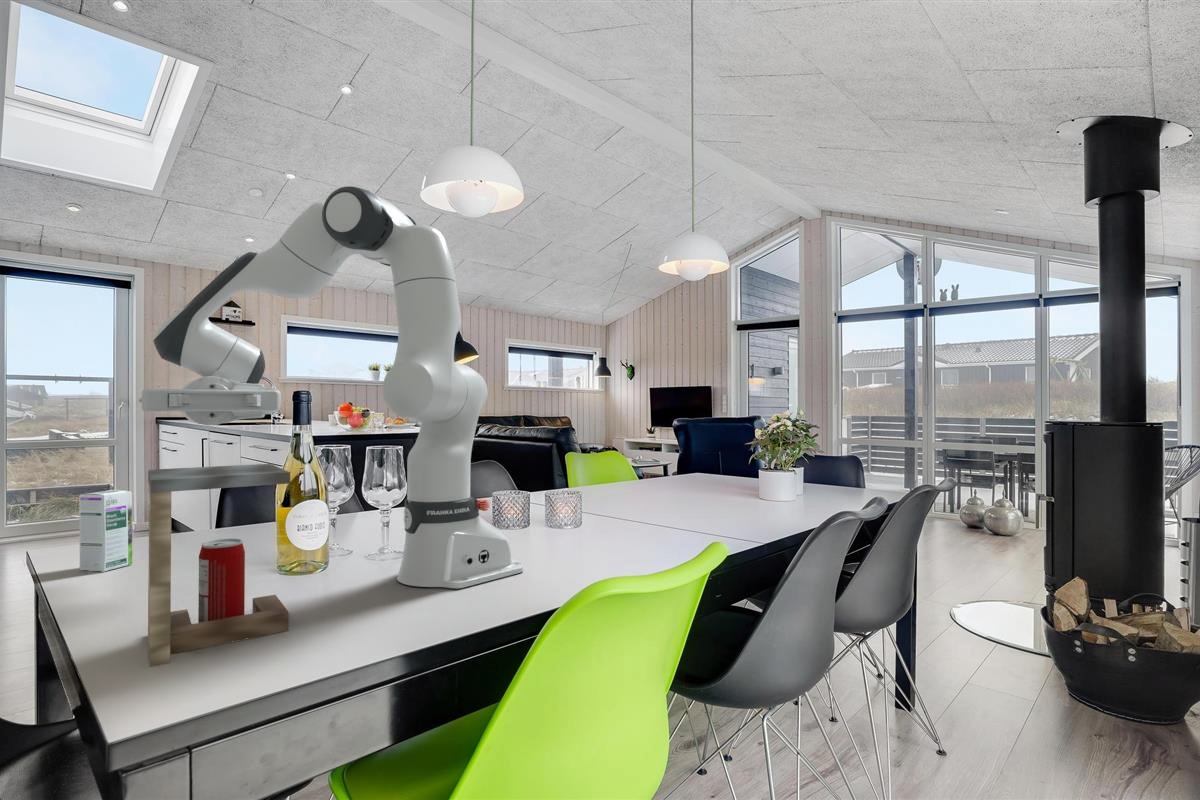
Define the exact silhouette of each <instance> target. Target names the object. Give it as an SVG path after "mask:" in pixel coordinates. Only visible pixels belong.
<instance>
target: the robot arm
mask: <svg viewBox="0 0 1200 800" xmlns="http://www.w3.org/2000/svg"><path fill="white" fill-rule="evenodd" d="M352 255H353V256H354V255H360V256H361V257H364V258H366V259H368V260H369V261H370V260H371V261H373V262H376V263H379V264H382V265H384V266H388V267H390V269H391V274H392V282H393V291H394V298H395V300H394V301H395V308H396V317H397V326H398V329H397V331H398V332H397V333H398V334H397V335H398V337H397V345H396V347H397V348H396V353H395V357H394V361H393V365H392V366H391V368H389V370H388V371H387V373H386V374H385V376H384V379H383V383H382V395H383V396H382V397H383V400H384V402H385V405H386V406H387V407H388V409H389V410H391V412H392V413H394V414H395V415H396V416H399V417H401V418H404V419H407V420H410V421H412V422H417V423H420V428H419V432H418V434H417V435H418V436H417V438H416V441H415V443H414V444H413V447H412V448H411V449H410V451H409V452H408V456H407V460H406V461H407V462H406V463H407V464H406V465H407V466H406V467H407V468H406V470H407V471H406V472H407V475H406V476H407V478H406V480H407V481H406V483H407V485H406V486H407V487H406V494H407V495H406V499H404V508H403V509H404V510H403V526H404V532H405V539H404V547H403V553H402V559H401V562H400V567H399V571H398V574H397V576H396V577H397V578H396V580H397V581H398V582H399V583H401V584H403V585H405V586H406V585H407V586H410V587H411V586H412V587H421V588H422V587H423V588H445V589H446V588H447V589H463V588H466V587H471V586H475V585H478V584H482V583H486V582H490V581H494V580H496V579H501V578H505V577H508V576H509V577H510V576H513V575H516V574H519V573H523V572H524V565H523V563H522V562H521V561H519V560H518V559H516V558H514V557H513V556H512V551H511V547H510V542H509V539H508V538H507V536H506V535H505V534H504V533H503V532H501V531H500V530H498V529H497V528H496V527H494V526H493V524H491V523H489V522H488V521H486V520H485V519H484V518H482V517H481V516H480V511H483V512H487V511H488V510H489V509H490V505H491V504H490V502H489V501H488V500H487V499H485V498H484V499H483V498H480V499H477V498H475V497H473V496H471V465H472V464H471V463H472V462H471V461H472V460H471V459H472V451H473V445H474V439H475V434H476V430H477V426H478V425H477V424H478V421H479V416H480V413H481V411H482V410H483V408H484V406H485V405H486V402H487V399H488V395H489V393H488V385H487V383H486V381H485V378H484V377H483V376H482V375H481V374H480V373H479V372H478V371H476V370H474V369H473V368H471V367H470V366H468V365H467V364H463V363H459V362H458V363H457V362H455V344H456V338H457V335H458V333H459V331H460V330H461V328H462V315H461V308H460V302H459V294H458V287H457V280H456V273H455V269H454V263H453V260H452V255H451V253H450V250H449V247H448V244H447V241H446V238H445V236H444V235H443V234H442V233H441V231H439V230H438V229H437V228H435V227H433V226H430V225H426V224H417V223H416V221H415V220H414V219H413V218H412V217H410V216H409V215H407V214H406V213H404V212H403V211H401V209H399V208H398V207H396V206H395V205H394V204H393V203H391V202H389V201H388V200H386V199H384V198H383V197H381V196H378V195H375V194H374V193H373V192H371V191H370V190H368V189H366V188H365V189H364V188H362V187H356V186H349V185H348V186H342V187H339V188H337V189H335V190H334V191H332V192H331V193H330V194H329V196H327V198H326V200H325V201H317V202H313V203H312V204H311V205H309V207H307V208H306V209H305V210H304V211H302V213H301V214H300V215H298V217H296V219H295V220H294V221H293V222H292V223H291V224H290V225H289V227H288V228H287V229H286V230H285V231H284V233H283V234H282V236H281V237H280V238H279V240H278V241H277V242H276V243H275V244H274V245H273V246H271V247H270V248H268V249H266V250H264V251H261V252H258V253H257V252H252V251H248V252H246V253H245V254H242V255H241V256H240V257H237V259H235V260H234V261H233V262H232V263H230V265H228V266H227V267H226V268H224V269H223V270H222V271H221V272H220V273H219V274H218V275H217V276H216V277H215V278H214V279H212V281H210V283H208V284H207V285H206V286H205V287H204V288H203V289H202V290H201V291H200V292H198V294H196V296H194V298H193V299H191V301H190V302H189V303H188V304H186V305H185V306H184V307H183V308H182V309H180V310H179V311H177V312H175V313H174V314H172V315H170V316H169V317H168V318H167V319H166V320H164V321H163V323H161V325H160V326H159V327H158V329H157V331H156V333H155V335H154V338H153V344H154V346H155V349H156V351H157V352H158V353H157V354H158V355H159V357H160V358H161V359H162V360H164V361H167V362H169V363H171V364H174V365H177V366H179V367H183V368H185V369H187V370H189V371H191V372H193V373H195V374H197V375H199V376H202V377H198V378H196V379H194V380H192V381H190V382H188V383H187V384H185V385H184V386H183V387H182V388H181V389H180V388H146V389H145V388H144V389H142V390H141V397H140V398H139V399H138V403H139V404H141V410H142V412H152V413H153V412H157V413H158V412H180V413H181V415H183V416H184V417H185V418H186V419H187V420H189V421H190V422H192V423H195V424H199V425H202V426H204V425H205V426H217V425H218V426H219V425H221V424H228V423H231V422H234V421H243V420H250V419H251V420H252V419H253V420H256V419H262V418H264V417H265V416H266V415H270V414H274V413H277V412H279V411H280V410H281V408H282V393H281V391H280V390H279V389H275V388H271V387H265V384H263V383H260V382H261V380H262V377H263V376H264V373H265V369H266V362H265V361H266V359H265V356H264V352H263V351H262V349H260V348H259V347H256V346H255V345H253V344H252V343H249V342H248V341H246V340H245V339H242V338H240V337H238V336H236V335H234V334H232V333H230V332H229V331H227V330H225V329H224V328H221V327H219V326H217V325H216V324H214V323H212V322H211V321H210V319H209V318H210V317H211V316H212V315H213V314H214V313H215V312H216V311H218V310H219V308H220V307H222V306H223V305H224V304H225V303H226V302H227V301H228V300H229V299H230V298H231V297H233V296H234V295H236V294H237V293H241V292H244V291H247V292H249V291H250V292H251V291H253V292H259V293H260V292H261V293H265V294H270V295H274V296H278V297H283V298H287V299H305V298H310V297H313V296H315V295H317V294H319V293H320V292H321V291H322V290H323V289H324V288H325V287H326V286H327V285H328V283H329V282H330V281H331V280H332V279H333V277H334V276H335V275H336V273H337V272H338V270H339V269H340V267H341V266H342V264H344V262H345V260H347V259H348V258H349V257H350V256H352Z"/></svg>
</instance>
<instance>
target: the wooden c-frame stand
mask: <svg viewBox="0 0 1200 800" xmlns="http://www.w3.org/2000/svg"><path fill="white" fill-rule="evenodd" d="M147 471H148V472H147V482H148V489H149V490H148V491H149V492H148V493H149V494H148V496H149V497H148V499H149V500H148V595H147V596H148V597H147V598H148V601H147V602H148V603H147V605H148V607H147V611H148V613H147V615H148V616H147V617H148V618H147V619H148V620H147V651H148V664H149V666H148V667H151V668H152V667H154V666H160V665H164V664H170V663H171V654H170V614H171V612H172V611H171V606H172V605H171V602H172V601H171V600H172V599H171V597H172V595H171V594H172V593H171V589H172V588H171V587H172V586H171V585H172V492H184V491H186V492H187V491H197V490H198V491H199V490H200V491H201V490H213V489H227V488H243V487H244V488H245V487H246V488H247V487H257V486H272V485H274V486H275V485H287V484H288V485H289V484H291V472H290V471H288V470H286V469H284V468H281V467H279V466H277V465H274V464H273V463H272V464H271V463H259V464H257V463H256V464H240V465H239V464H237V465H221V466H220V465H218V466H199V467H179V468H174V467H173V468H158V469H157V468H156V469H155V468H154V469H147Z"/></svg>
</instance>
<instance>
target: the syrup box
mask: <svg viewBox="0 0 1200 800" xmlns="http://www.w3.org/2000/svg"><path fill="white" fill-rule="evenodd" d="M132 493H133V492H132V491H131V490H128V489H126V490H125V489H112V490H111V489H109V490H104V491H97V492H91V493H90V492H89V493H82V494H80V495H78V504H79V505H78V507H79V508H78V509H79V510H78V511H79V512H78V513H79V516H78V517H79V518H78V521H79V522H78V523H79V530H78V531H79V570H80V571H82V570H92V571H101V572H100V573H106V572H108V571H112V570H115V569H119V568H124V567H127V566H132V565H133V498H132V497H133V494H132ZM105 571H106V572H105Z"/></svg>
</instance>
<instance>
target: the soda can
mask: <svg viewBox="0 0 1200 800" xmlns="http://www.w3.org/2000/svg"><path fill="white" fill-rule="evenodd" d="M245 558H246V551H245V547H244V544H243V540H242V539H240V538H220V539H212V540H208V541H205V542H203V543H201V548H200V550H199V554H198V609H197V610H198V619H197V621H198V622H197V623H201V622H207V621H213V620H218V619H224V618H229V617H235V616H241V615H245V608H246V606H245V598H246V597H245V596H246V595H245V594H246V593H245V589H246V588H245V587H246V585H245V584H246V583H245V581H246V579H245V578H246V576H245V575H246V574H245V573H246V572H245V569H246V568H245V567H246V562H245V561H246V559H245Z"/></svg>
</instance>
